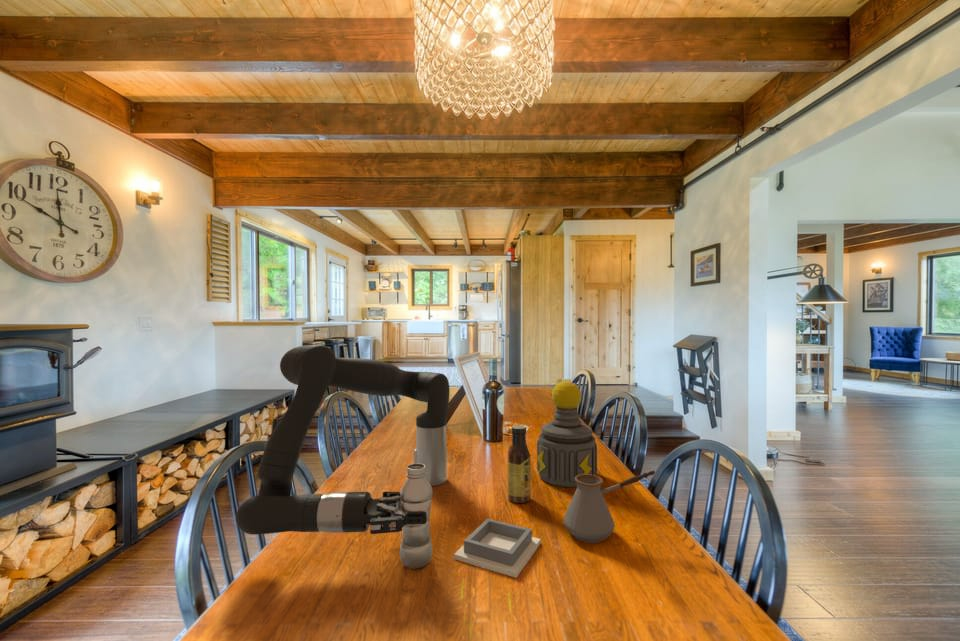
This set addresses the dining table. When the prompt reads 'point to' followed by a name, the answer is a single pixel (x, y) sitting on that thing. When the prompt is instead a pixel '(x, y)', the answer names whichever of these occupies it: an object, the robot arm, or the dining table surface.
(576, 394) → the decorative lamp
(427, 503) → the plastic bottle
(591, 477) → the coffee pot
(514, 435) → the sauce bottle
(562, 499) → the dining table surface
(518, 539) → the bottle holder
